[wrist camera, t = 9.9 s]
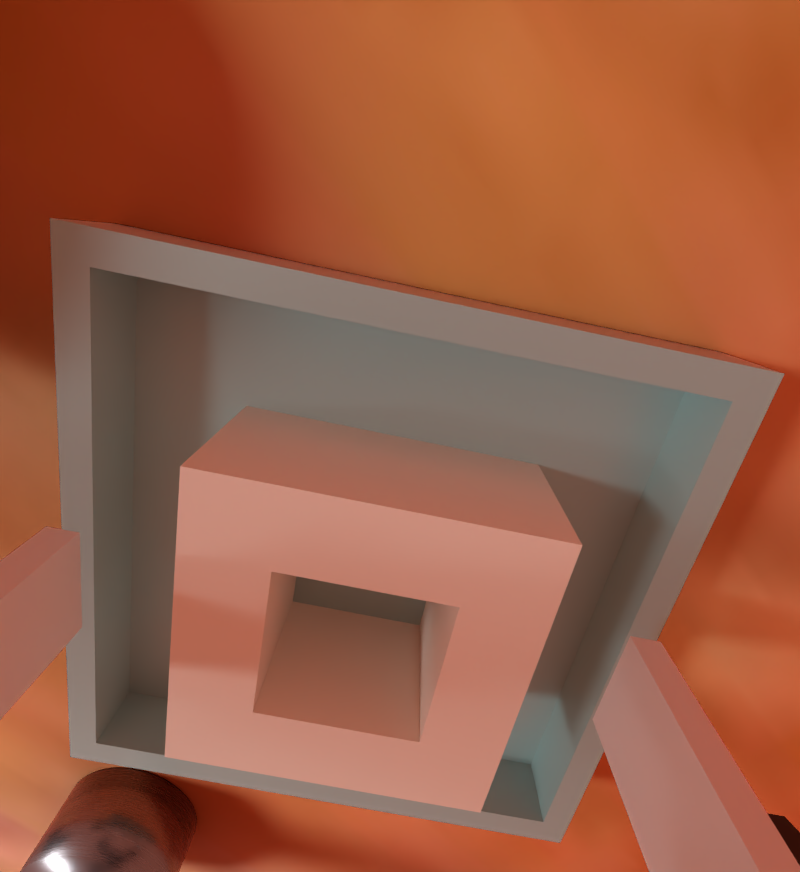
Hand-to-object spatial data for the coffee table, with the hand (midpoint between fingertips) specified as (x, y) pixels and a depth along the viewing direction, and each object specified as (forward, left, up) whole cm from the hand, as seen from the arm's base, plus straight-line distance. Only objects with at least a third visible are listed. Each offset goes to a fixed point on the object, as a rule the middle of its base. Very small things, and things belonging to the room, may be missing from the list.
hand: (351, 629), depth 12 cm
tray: (0, 0, -4) cm, 4 cm away
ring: (0, 0, -3) cm, 3 cm away
